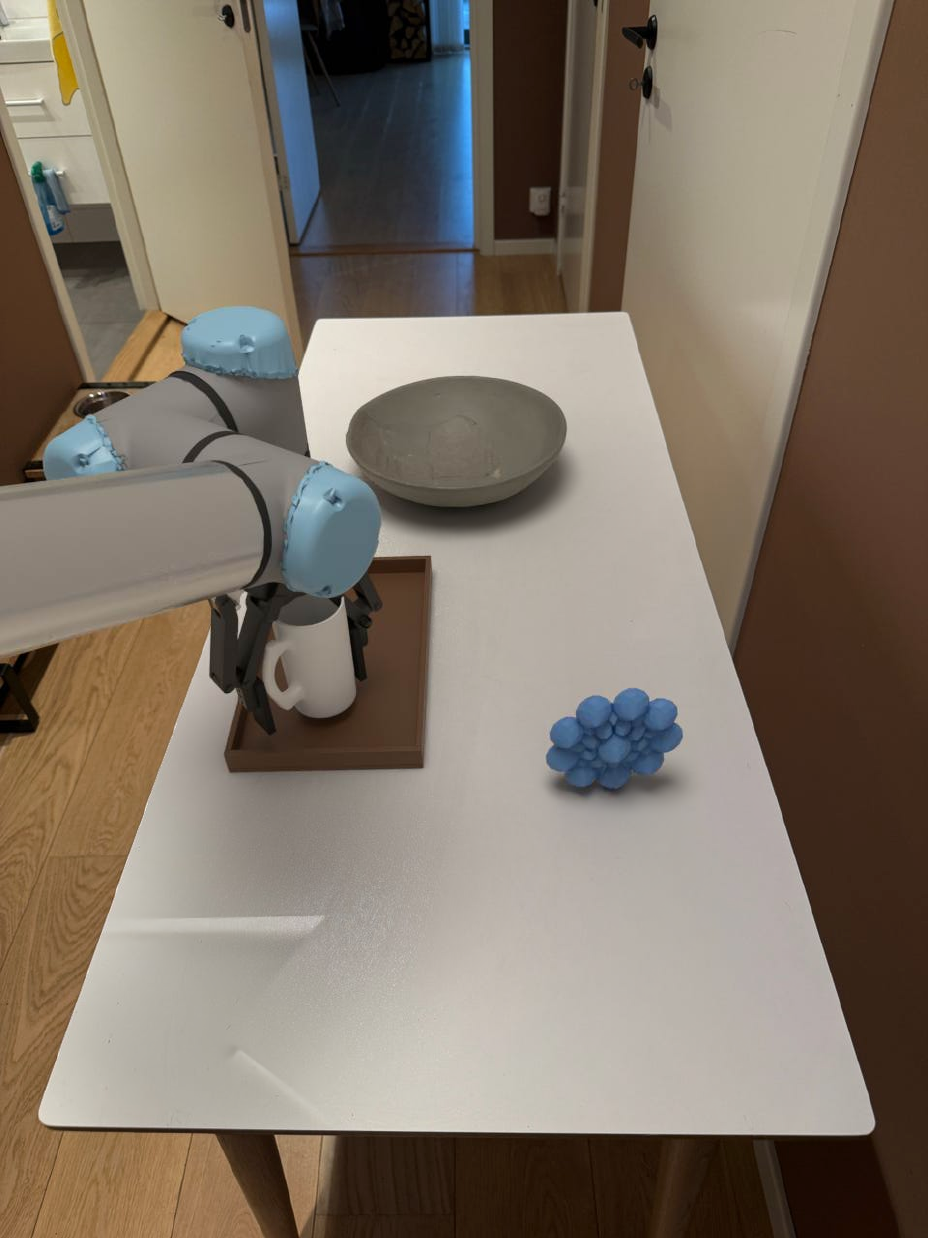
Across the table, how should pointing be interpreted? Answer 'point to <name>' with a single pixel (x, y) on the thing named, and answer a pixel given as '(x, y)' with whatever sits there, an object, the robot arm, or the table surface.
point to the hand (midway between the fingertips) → (312, 698)
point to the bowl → (457, 439)
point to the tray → (357, 691)
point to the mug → (311, 658)
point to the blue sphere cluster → (614, 739)
